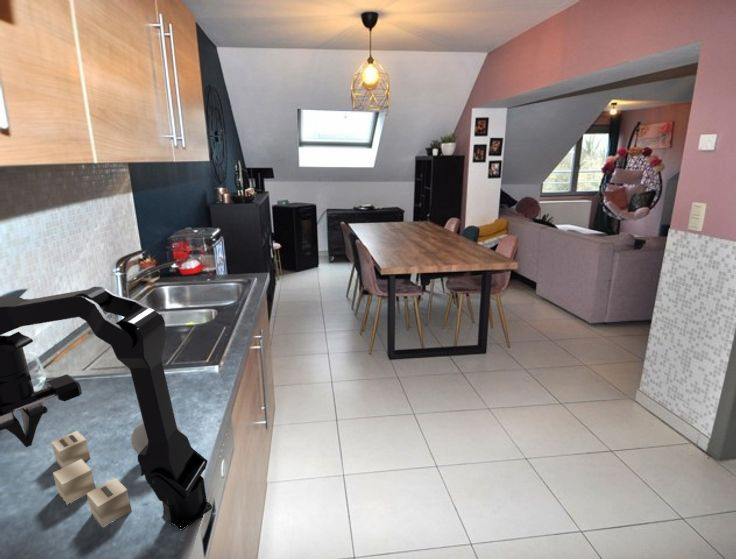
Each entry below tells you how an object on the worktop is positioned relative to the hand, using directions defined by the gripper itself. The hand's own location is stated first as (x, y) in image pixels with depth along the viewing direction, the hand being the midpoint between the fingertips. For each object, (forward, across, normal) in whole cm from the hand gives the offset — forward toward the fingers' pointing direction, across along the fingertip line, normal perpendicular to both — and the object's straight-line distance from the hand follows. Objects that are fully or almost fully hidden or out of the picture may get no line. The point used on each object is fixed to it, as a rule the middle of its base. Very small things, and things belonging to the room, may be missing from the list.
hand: (28, 445), depth 79 cm
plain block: (+13, -5, +2) cm, 14 cm away
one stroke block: (+13, -7, +13) cm, 20 cm away
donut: (+13, -20, +5) cm, 25 cm away
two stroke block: (+13, -8, -9) cm, 18 cm away
